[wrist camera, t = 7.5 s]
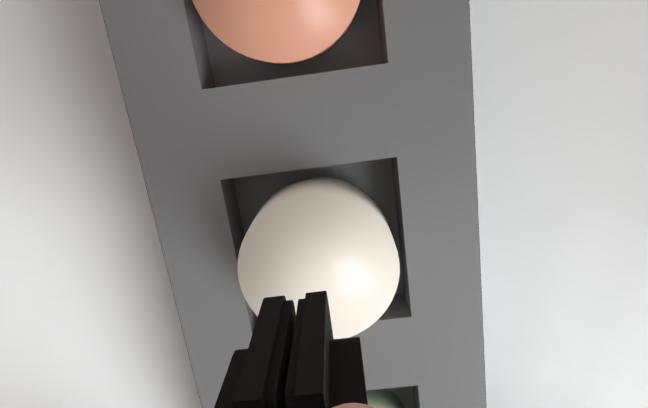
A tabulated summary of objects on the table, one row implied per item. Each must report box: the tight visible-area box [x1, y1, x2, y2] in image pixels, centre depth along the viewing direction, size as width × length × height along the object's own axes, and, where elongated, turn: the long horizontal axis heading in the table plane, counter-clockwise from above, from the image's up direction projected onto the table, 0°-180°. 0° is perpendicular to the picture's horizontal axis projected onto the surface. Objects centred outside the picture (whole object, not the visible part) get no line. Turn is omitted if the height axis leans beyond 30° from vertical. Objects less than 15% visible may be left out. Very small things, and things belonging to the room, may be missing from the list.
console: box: [99, 0, 486, 408], centre depth 21 cm, size 13×32×5 cm, turn 8°
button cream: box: [237, 177, 400, 339], centre depth 18 cm, size 6×6×3 cm
